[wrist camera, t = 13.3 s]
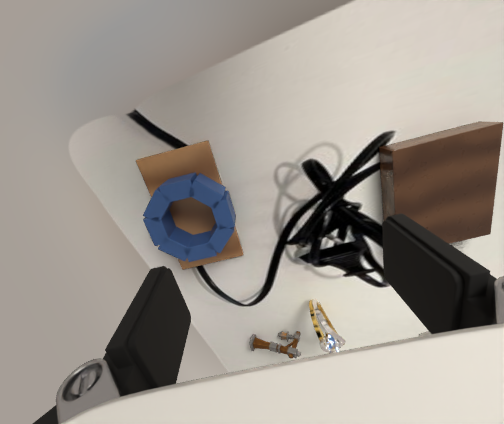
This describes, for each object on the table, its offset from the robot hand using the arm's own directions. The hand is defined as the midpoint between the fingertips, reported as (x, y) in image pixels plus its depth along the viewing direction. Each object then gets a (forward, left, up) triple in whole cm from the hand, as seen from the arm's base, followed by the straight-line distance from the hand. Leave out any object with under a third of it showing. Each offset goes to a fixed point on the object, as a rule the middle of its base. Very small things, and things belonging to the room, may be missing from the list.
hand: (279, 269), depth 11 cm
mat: (+3, -9, -22) cm, 24 cm away
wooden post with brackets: (+27, -4, -22) cm, 35 cm away
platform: (+8, +21, -22) cm, 31 cm away
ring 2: (+23, +4, -22) cm, 32 cm away
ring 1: (+3, -9, -21) cm, 23 cm away
